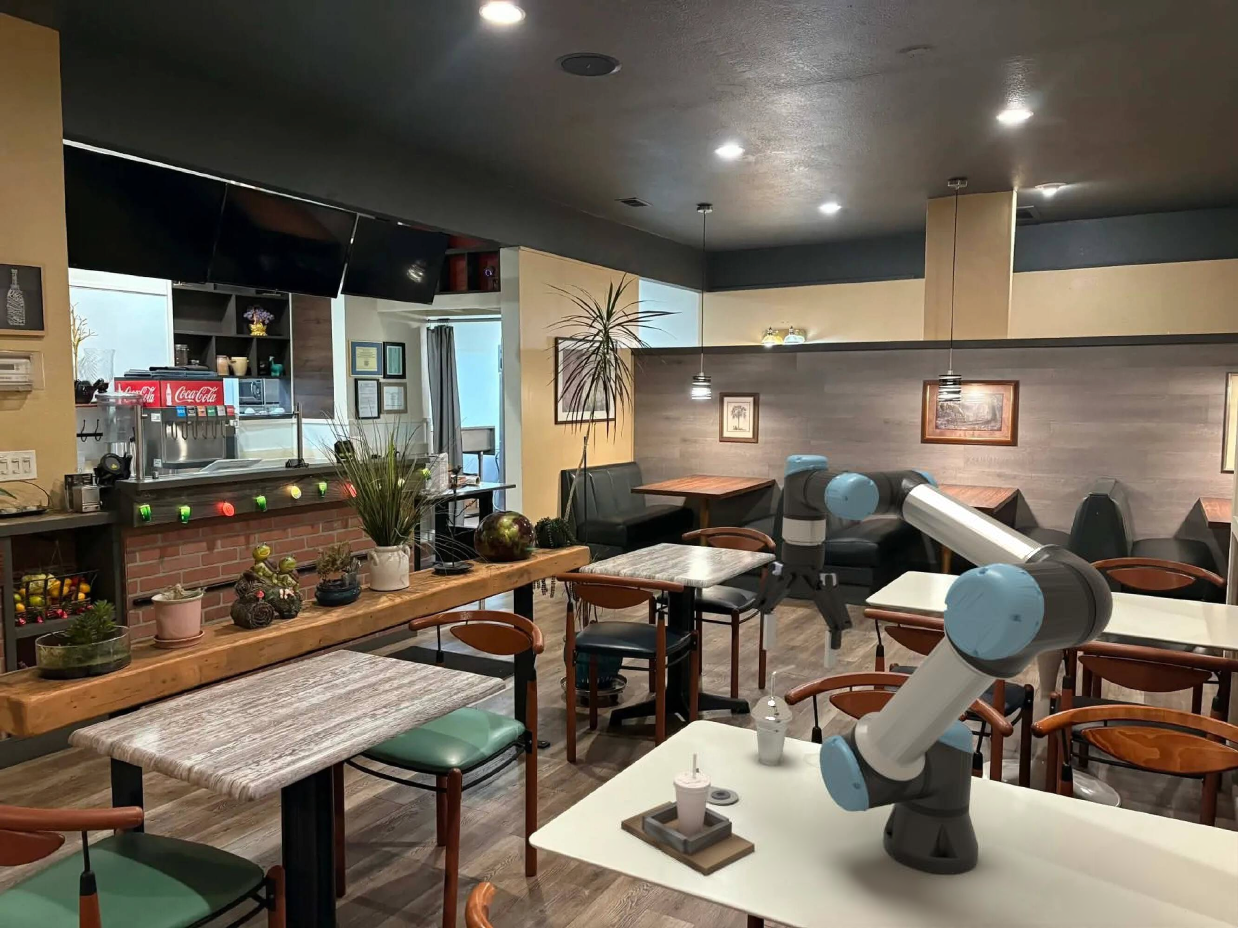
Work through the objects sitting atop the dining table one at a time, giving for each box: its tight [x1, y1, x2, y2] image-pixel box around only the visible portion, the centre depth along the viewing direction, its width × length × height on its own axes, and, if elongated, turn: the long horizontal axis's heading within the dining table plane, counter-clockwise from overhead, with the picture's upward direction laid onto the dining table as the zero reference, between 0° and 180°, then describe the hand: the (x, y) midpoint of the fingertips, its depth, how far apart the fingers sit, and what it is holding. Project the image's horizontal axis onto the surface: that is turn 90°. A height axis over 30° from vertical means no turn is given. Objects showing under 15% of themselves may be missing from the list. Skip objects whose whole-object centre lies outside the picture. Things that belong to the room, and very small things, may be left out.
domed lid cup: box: [750, 664, 796, 767], centre depth 186 cm, size 8×9×20 cm
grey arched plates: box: [691, 767, 739, 805], centre depth 171 cm, size 7×10×4 cm, turn 57°
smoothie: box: [672, 752, 712, 837], centre depth 153 cm, size 6×6×14 cm
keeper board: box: [620, 801, 756, 877], centre depth 154 cm, size 20×12×4 cm, turn 42°
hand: (798, 657), depth 163 cm, fingers open, 13 cm apart
